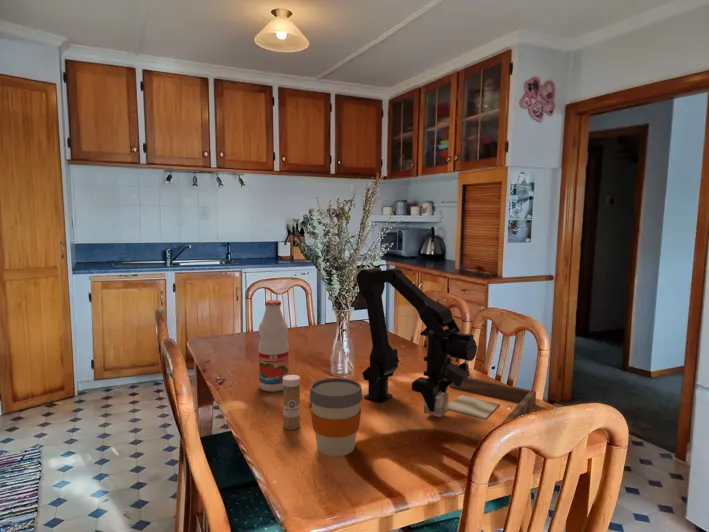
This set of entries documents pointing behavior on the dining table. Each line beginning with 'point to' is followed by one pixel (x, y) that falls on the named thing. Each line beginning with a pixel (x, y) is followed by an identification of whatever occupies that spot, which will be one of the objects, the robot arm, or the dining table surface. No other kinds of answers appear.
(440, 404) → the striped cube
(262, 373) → the fruit juice
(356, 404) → the reusable coffee cup
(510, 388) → the corner arena
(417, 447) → the dining table surface
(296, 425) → the sprinkles bottle
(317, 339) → the dining table surface
